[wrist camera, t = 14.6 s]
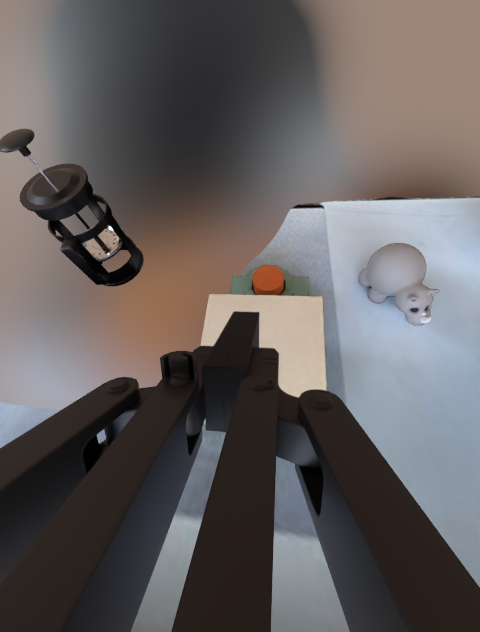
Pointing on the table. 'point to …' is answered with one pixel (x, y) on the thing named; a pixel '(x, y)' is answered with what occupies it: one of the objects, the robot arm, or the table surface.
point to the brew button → (268, 280)
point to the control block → (291, 287)
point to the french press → (66, 200)
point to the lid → (279, 334)
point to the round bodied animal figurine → (400, 281)
